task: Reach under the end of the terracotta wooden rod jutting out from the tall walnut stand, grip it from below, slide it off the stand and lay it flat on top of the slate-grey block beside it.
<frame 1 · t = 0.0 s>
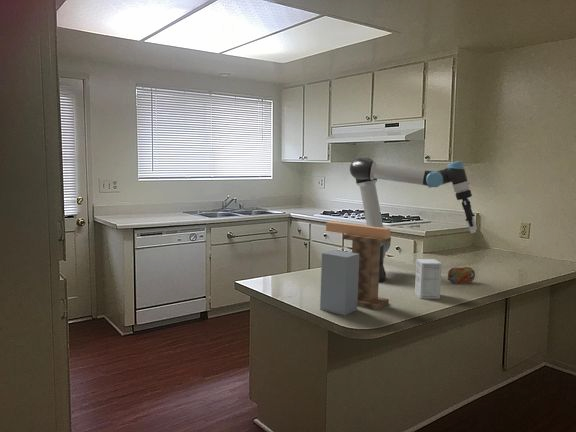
hand: (474, 230, 247), 28 cm above the countertop, tool tilted 20°, fingers open, 13 cm apart
supplement box: (426, 296, 226), on the countertop
stand: (363, 302, 214), on the countertop
rod: (356, 234, 213), point 30 cm above the countertop, touching stand
slate block: (338, 309, 203), on the countertop
tin: (460, 283, 252), on the countertop
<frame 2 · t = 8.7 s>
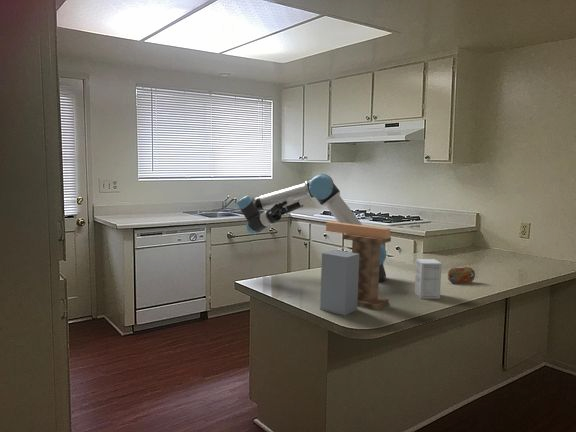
hand: (301, 198, 229), 44 cm above the countertop, tool pointing upward, fingers open, 13 cm apart
nothing on the countertop moved.
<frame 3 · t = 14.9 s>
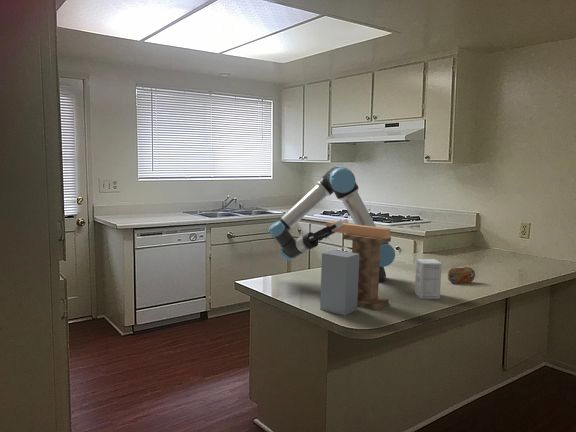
hand: (344, 222, 217), 35 cm above the countertop, tool pointing upward, fingers closed on rod, 4 cm apart
rod: (356, 234, 213), point 30 cm above the countertop, touching gripper, stand
everything else where it was.
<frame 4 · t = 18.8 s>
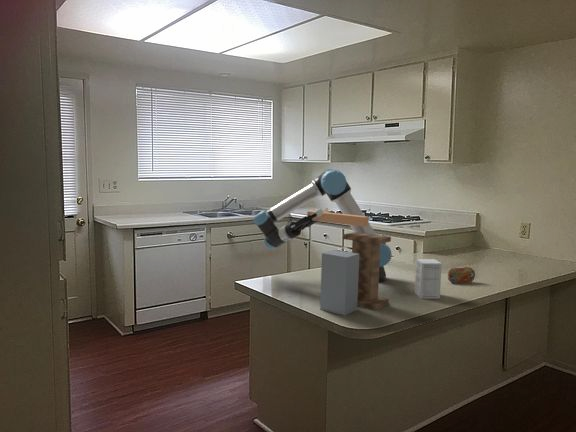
hand: (325, 211, 220), 39 cm above the countertop, tool pointing upward, fingers closed on rod, 4 cm apart
rod: (336, 222, 217), point 34 cm above the countertop, touching gripper
everything else where it was.
when the fingers open (31 cm above the countertop, at t = 22.9 s): rod drops 2 cm, resting on slate block.
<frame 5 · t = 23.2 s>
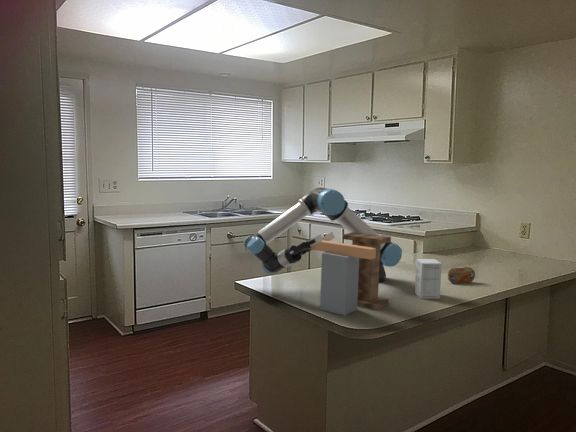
hand: (327, 236, 204), 30 cm above the countertop, tool pointing upward, fingers open, 8 cm apart
rod: (340, 253, 200), point 24 cm above the countertop, touching slate block
everything else where it was.
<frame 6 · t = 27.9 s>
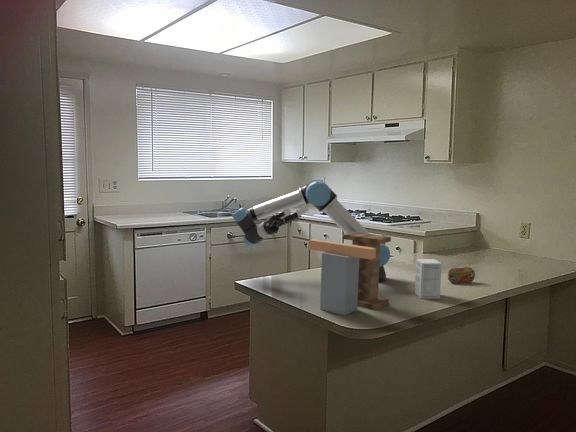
hand: (298, 209, 224), 39 cm above the countertop, tool pointing upward, fingers open, 13 cm apart
nothing on the countertop moved.
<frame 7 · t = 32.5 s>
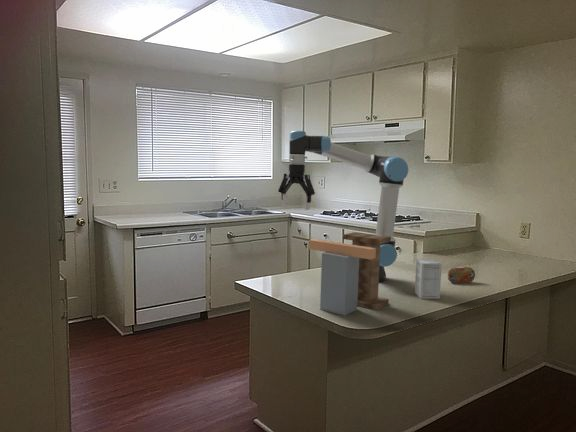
hand: (295, 208, 232), 39 cm above the countertop, tool pointing down, fingers open, 13 cm apart
nothing on the countertop moved.
at the end: rod inside the target area on the slate block (0.1 cm from its centre), point 24.0 cm above the slate block's base; rod tilted 0°; the gripper is holding nothing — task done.
